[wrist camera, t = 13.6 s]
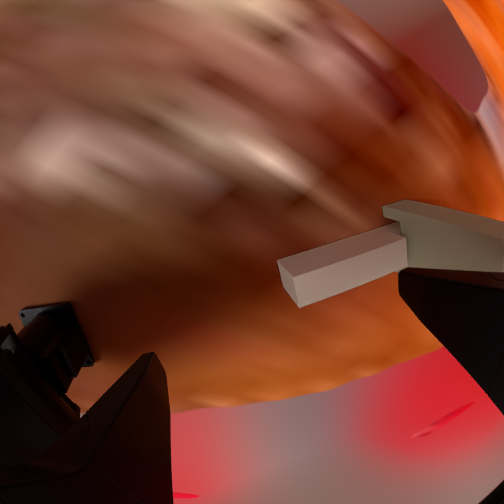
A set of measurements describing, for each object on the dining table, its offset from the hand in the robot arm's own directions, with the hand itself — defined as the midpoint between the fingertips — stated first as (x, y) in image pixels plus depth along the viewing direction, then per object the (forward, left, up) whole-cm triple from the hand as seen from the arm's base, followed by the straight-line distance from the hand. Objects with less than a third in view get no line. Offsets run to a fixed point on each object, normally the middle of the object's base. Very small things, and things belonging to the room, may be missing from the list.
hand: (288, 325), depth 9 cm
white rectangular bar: (+12, -2, -13) cm, 18 cm away
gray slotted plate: (+15, -2, -13) cm, 20 cm away
